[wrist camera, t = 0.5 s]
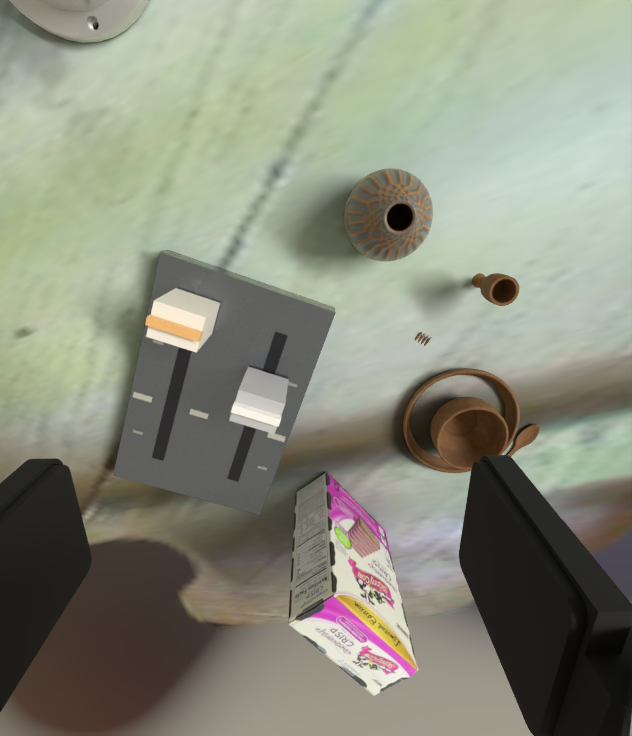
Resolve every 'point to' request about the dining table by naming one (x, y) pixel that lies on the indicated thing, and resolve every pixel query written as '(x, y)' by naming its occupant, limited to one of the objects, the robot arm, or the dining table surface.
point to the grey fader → (260, 400)
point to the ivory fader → (182, 319)
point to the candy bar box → (347, 588)
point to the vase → (388, 214)
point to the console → (218, 387)
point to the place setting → (472, 407)
